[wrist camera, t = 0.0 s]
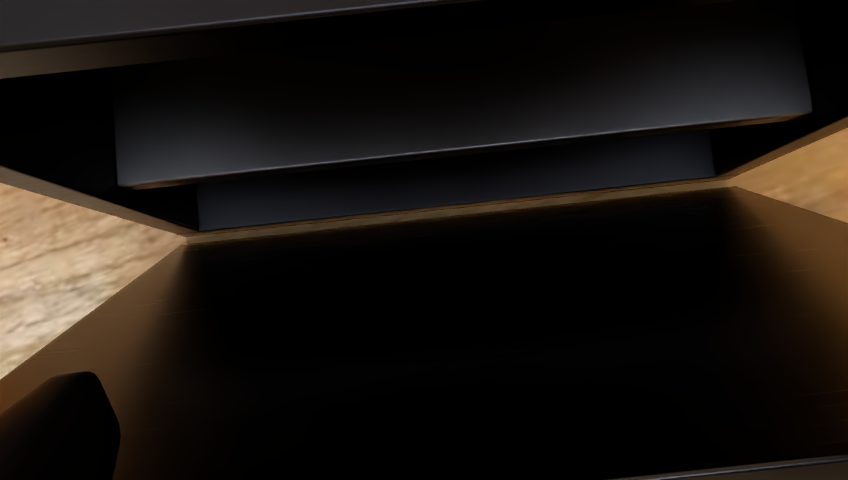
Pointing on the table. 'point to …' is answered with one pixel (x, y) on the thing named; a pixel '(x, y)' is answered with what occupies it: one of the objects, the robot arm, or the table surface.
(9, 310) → the table surface
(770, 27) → the oven
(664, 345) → the oven door
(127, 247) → the table surface
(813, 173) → the table surface
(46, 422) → the robot arm
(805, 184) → the table surface
